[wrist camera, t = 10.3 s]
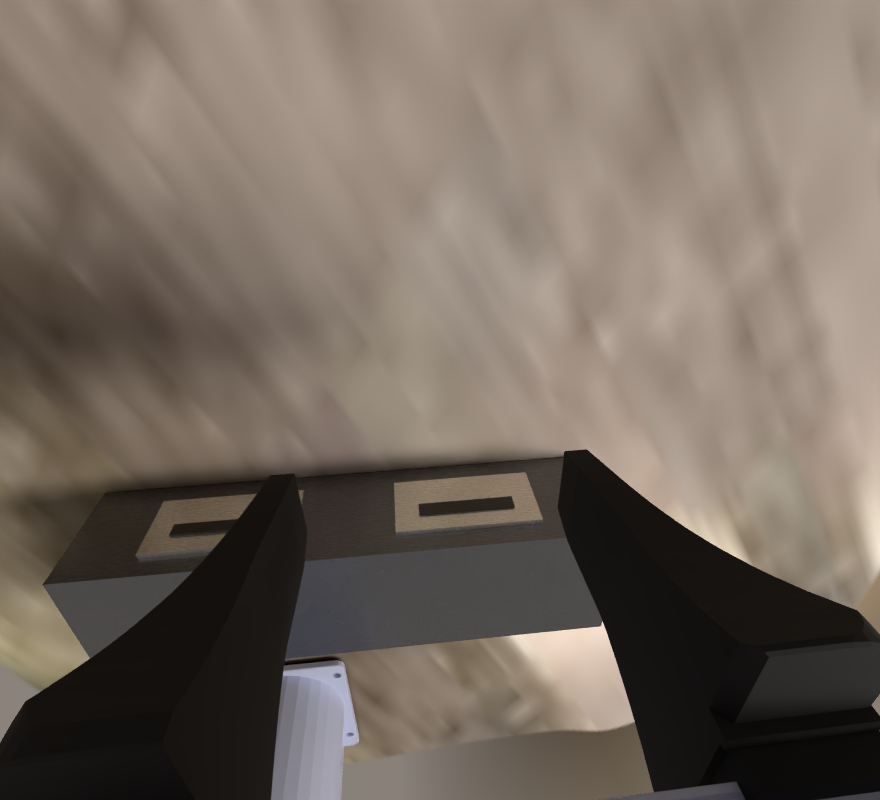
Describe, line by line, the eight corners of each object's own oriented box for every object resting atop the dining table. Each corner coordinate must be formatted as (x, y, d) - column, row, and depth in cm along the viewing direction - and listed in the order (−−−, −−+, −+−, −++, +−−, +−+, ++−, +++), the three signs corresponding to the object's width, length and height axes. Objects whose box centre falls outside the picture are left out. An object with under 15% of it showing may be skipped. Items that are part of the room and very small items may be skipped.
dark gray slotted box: (567, 543, 28) (600, 626, 24) (147, 581, 26) (102, 677, 22) (581, 450, 24) (623, 527, 20) (102, 488, 23) (39, 579, 19)
